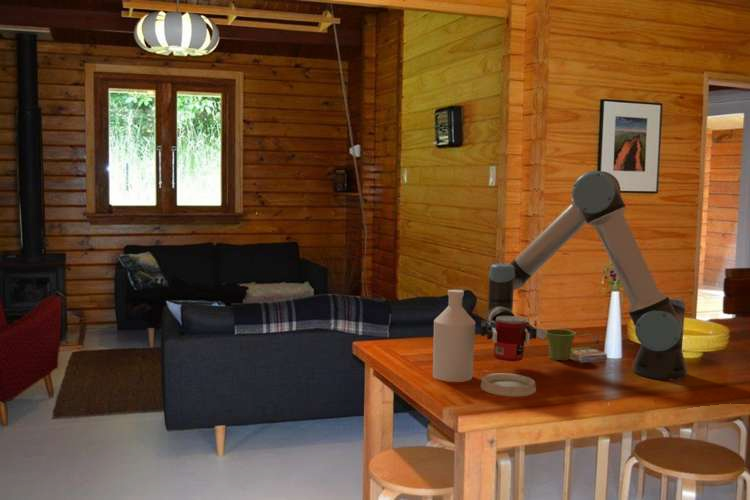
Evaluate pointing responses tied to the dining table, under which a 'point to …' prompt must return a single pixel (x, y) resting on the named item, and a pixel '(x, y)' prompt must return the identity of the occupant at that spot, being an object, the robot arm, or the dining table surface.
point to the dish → (508, 385)
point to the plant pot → (560, 343)
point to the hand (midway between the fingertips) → (511, 338)
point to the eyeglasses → (542, 334)
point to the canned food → (509, 338)
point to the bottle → (453, 342)
